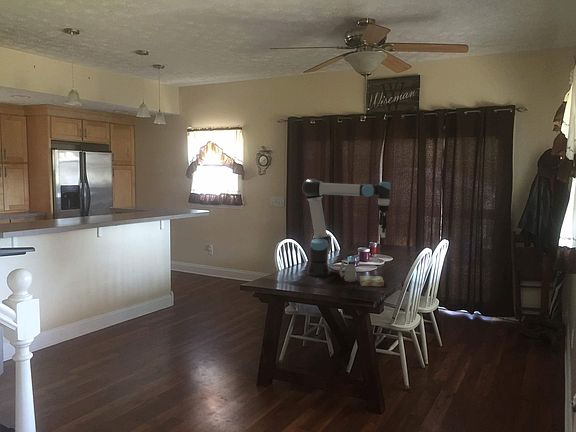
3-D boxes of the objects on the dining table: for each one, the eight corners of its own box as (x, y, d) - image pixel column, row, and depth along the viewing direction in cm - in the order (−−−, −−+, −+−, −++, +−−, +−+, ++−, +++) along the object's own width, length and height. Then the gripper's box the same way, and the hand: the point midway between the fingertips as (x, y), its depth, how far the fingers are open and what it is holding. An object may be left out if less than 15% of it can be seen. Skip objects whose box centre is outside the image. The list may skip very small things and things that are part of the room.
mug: (352, 282, 303) (352, 263, 302) (336, 279, 310) (336, 261, 309) (358, 280, 309) (358, 261, 308) (342, 277, 316) (342, 259, 315)
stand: (360, 285, 295) (360, 280, 295) (359, 280, 309) (359, 275, 308) (383, 286, 294) (383, 281, 293) (381, 281, 307) (381, 275, 307)
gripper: (391, 206, 310) (389, 239, 312) (386, 203, 335) (384, 233, 337) (380, 206, 310) (378, 238, 313) (375, 203, 335) (374, 233, 338)
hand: (381, 235), depth 325 cm, fingers open, 13 cm apart
